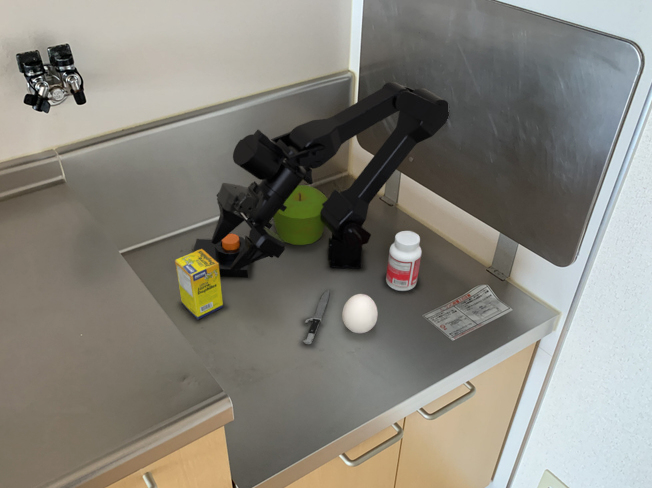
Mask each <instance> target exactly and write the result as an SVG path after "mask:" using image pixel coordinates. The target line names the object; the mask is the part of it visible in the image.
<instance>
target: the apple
mask: <svg viewBox="0 0 652 488" xmlns="http://www.w3.org/2000/svg"><path fill="white" fill-rule="evenodd" d="M327 199H328V197H327V196H326V195H325V194H324V193H323V192H322V191H320V190H319V189H318V188H315V187H313V186H310V185H307V184H301V185H300V184H299V185H298V186H297V188H296V189H295V190H294V191H293V193H292V194H291V195H290V196H289V198H288V199H287V200H286V202H285V203H284V205H285V206H286V207H287V208H286V209H285V211H284V212H283V211H282V210H280V209H279V210H278V212H277V213H276V214H275V215H274V217H273V218H272V219H273V223H274V227H275V230H276V234H277V235H278V236H279V237H280V239H281V240H282V241H283V242H284V243H287V244H290V245H293V246H305V245H311V244H313V243H316V242H317V241H319V240H320V238H321V237H322V235H323V233H324V229H325V227H326V226H325V225H324V224H323V223H322V221H321V219H320V212H321V210H322V208H323V205H322V204H323V203H324V202H326V201H327Z"/></svg>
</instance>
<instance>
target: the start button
mask: <svg viewBox="0 0 652 488" xmlns="http://www.w3.org/2000/svg"><path fill="white" fill-rule="evenodd" d="M238 236H239V235H238V234H235V233H229V234H228V235H227V236H226V237H225V238H224V239H222V247H223V248H224V249H225V250H235V249H238V248H239V246H240V243H239V237H238Z"/></svg>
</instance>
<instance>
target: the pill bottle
mask: <svg viewBox="0 0 652 488" xmlns="http://www.w3.org/2000/svg"><path fill="white" fill-rule="evenodd" d="M420 243H421V237H420V236H419V234H418V233H416V232H414V231H413V230H402V231H399V232H397V233H396V234H395V236H394V242H393V243H391V245H390V247H389V252H388V260H387V268H386V276H385V282H386V284H387V285H388V287H390V288H391V289H392V290H395V291H397V292H398V291H399V292H406V291H410V290H412V289H414V288H415V287H416V285H417V283H418V278H419V271H420V266H421V259H422V253H423V252H422V248H421V246H420Z"/></svg>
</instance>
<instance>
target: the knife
mask: <svg viewBox="0 0 652 488" xmlns="http://www.w3.org/2000/svg"><path fill="white" fill-rule="evenodd" d="M329 298H330V289H327V290H325V292H324V293H323V294H322V295H321V298H320V300H319V302H318V304H317V306H316V307H317V308H316V310H315V314H314V316H313V317H309V318H307V319H305V321H304V323H305V324H308V323H309V322H310V321H311V322H312V323H311V325H310V327H309V329H308V332H307V337H306V338H305V339H304V340H303V343H304V344H306V345H311V344H312V343H313V341H314V339H315V336H316V334H317V330H318V329H319V326H320V324H321V323H322V322H323V319H322V318H323V315H324V312H325V310H326V307H327V304H328V301H329Z"/></svg>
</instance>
